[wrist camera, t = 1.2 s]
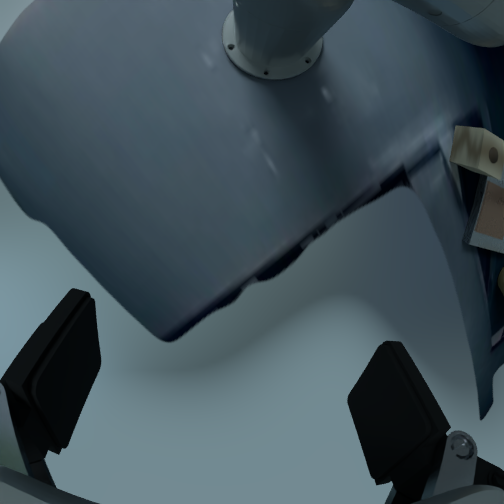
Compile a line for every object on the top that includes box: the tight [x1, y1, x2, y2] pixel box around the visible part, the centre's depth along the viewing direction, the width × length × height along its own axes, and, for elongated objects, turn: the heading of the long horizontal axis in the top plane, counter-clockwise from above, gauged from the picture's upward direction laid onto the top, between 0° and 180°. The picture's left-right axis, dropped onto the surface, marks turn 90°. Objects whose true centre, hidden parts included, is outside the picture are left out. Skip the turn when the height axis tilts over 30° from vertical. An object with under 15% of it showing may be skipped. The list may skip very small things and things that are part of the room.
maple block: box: [450, 126, 504, 180], centre depth 33 cm, size 6×6×7 cm
